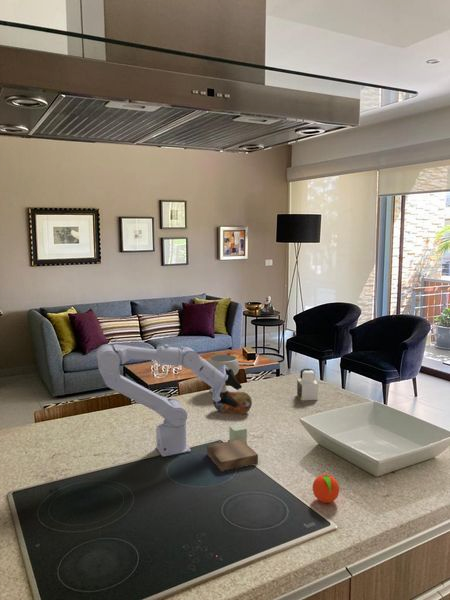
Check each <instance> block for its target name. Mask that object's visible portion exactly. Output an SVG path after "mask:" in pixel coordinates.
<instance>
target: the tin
mask: <svg viewBox="0 0 450 600" xmlns="http://www.w3.org/2000/svg"><path fill="white" fill-rule="evenodd" d="M221 392H222V393H223V392H224V393H225V392H226V391H221ZM228 392H229V394H230V395H231V397H232V398H233V399H234V400H236V401H237V402H238V406H236V407H232V406H229V405H227V404H222V403H216V402H215V401H214V400H212V402H213V407H214V408H215V410H217V412H219V413H222V414H233V415H234V414H235V415H236V414H237V415H244V414H246V413H248V412H249V411H250V410H251V407H252V405H253V401H252V398H251V396H250V395H249V394H248V393H247V392H245V391H238V390H237V391H228Z"/></svg>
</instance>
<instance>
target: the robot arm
mask: <svg viewBox="0 0 450 600" xmlns="http://www.w3.org/2000/svg"><path fill="white" fill-rule="evenodd" d="M95 358H96V359H95V360H96V364H97V367H98V371H99V373H100V375H101V377H102V379H103V382H104V383H105V385H106V387H108V388H109V389H110V390H113V391H114V392H117V393H119V394H122V395H123V396H125V397H126V398H129V399H131V400H133V401H134V402H137V403H138V404H140V405H142V406H144V407H147V408H148V409H151V410H152V411H153V412H156V413H157V414H158V415H159V416H160V417H162V418H164V419H163V422H162V423H161V424H159V425H156V428H155V435H156V436H155V439H156V445H155V447H156V449H157V450H158V453H160V455H161V457H168V456H174V455H179V454H183V453H188V452H191V448H190V447H189V446H188V445H187V419H188V413H187V410H186V409H184V408H183V406H182V404H181V403H180V401H179V400H178V399H176V398H168V397H167V396H161V395H160V394H157V393H155V392H154V391H152V390H150V389H148V388H146V387H144V386H143V385H141V384H139V383H137V382H135V381H133V380H131V379H129V378H127V377H126V376H124V375H122V374H121V373H120V363H121V364H122V365H125V363H126V362H128V361H129V360H151V361H155V362H156V363H157V364H158V365H161V366H163V365H164V366H165V365H166V366H176V367H178V366H182V367H184V369H187V370H190V371H191V372H192V373H193V375H195V376H197V377H198V378H199V379H200V380H202V381H203V382H204V383H206V385H208V386H210V387H211V388H212V393H211V394H212V398H211V399H212V401H213V400H214V401H215V402H216V403H222V404H227V405H229V406H232V407H236V406H238V402H237V401H236V400H234V399H233V398H232V397H231V395H230V394H229V392H228V391H226V392H225V393H224V392H223V393H222V392H221V391H222V387H223V385H224V383H225V384H227V385H228V386H232V387H233V388H235V389H236V390H237V391H238V390H240V389H242V387H243V386H242V384H241V383H240V382H239V380H238V378H236V375H234V373H233V370H232V369H229V370H228V367H227V366H225V365H222V366H221V367H220V369H219V370H217V369H216V368H215V367H214V366H212V365H211V364H210V363H209V362H208V360H206V359H205V358H203V357H202V356H200V355H199V354H198V352H197V351H195V350H193V348H191V347H188V346H184V345H183V346H179V347H177V346H176V347H175V346H174V347H173V346H170V345H169V344H166V343H165V344H163V345H160V346H159V347H157V348H156V349H154V348H147V347H140V346H134V345H133V346H132V345H124V344H117V343H116V344H113V345H112V344H109V343H107V344H102V345H100V346H98V348H97V350H96V351H95Z"/></svg>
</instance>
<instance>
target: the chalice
mask: <svg viewBox="0 0 450 600" xmlns="http://www.w3.org/2000/svg"><path fill="white" fill-rule="evenodd" d="M207 362H209V363H210V364H211V365H212V366H214V367H215V368H216V369H217V370H219V369H220V367H221V366H222V365H225V366H227V367H228V370H229V369H232V370H233V373H234V375H235V376H236V375H237V374H238V372H239V370H240V363H239V359H238V358H237V357H236V356H235V355H232V354H215V355H212V356H210V357H209V359H208V360H207ZM226 384H227V383H224V385H223V387H222V391H238V390H236V389H235V388H233V387H232V386H230V385H226ZM209 393H210V394H213V393H212V387H211V388H210V389H209Z"/></svg>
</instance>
